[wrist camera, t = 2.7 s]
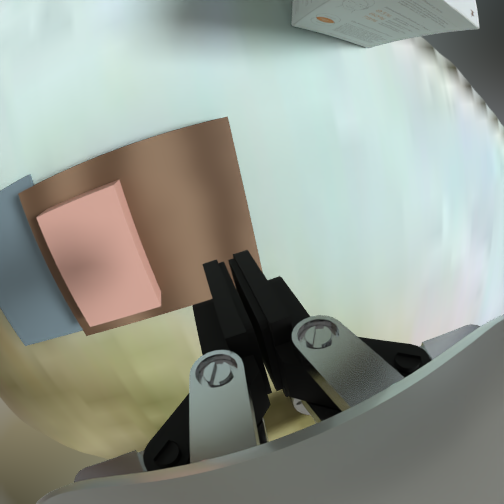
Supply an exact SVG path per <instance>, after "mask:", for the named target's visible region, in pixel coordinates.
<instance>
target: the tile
mask: <svg viewBox="0 0 504 504" xmlns="http://www.w3.org/2000/svg"><path fill="white" fill-rule="evenodd" d="M36 218H37V221H38V223H39V226H40V228H41V231H42V233H43V236H44V238H45V240H46V243H47V245H48V247H49V250H50V252H51V254H52V256H53V258H54V260H55V263H56V265H57V267H58V269H59V271H60V273H61V275H62V277H63V279H64V281H65V283H66V285H67V287H68V289H69V290H70V292H71V294H72V296H73V298H74V300H75V302H76V303H77V305H78V307H79V309H80V310H81V312H82V314H83V316H84V317H85V319H86V321H87V322H88V324H89V326H90V327H92V326H96V325H99V324H103V323H106V322H110V321H113V320H116V319H120V318H123V317H127V316H130V315H134V314H137V313H140V312H144V311H147V310H150V309H154V308H157V307H160V306H161V290H160V288H159V286H158V283H157V281H156V279H155V276H154V274H153V271H152V269H151V266H150V264H149V261H148V259H147V256H146V254H145V251H144V249H143V246H142V243H141V241H140V238H139V235H138V233H137V230H136V227H135V224H134V222H133V219H132V216H131V213H130V210H129V207H128V204H127V201H126V198H125V195H124V192H123V189H122V186H121V183H120V180H116V181H114V182H111V183H108V184H106V185H103V186H101V187H98V188H95V189H93V190H90V191H88V192H85V193H83V194H81V195H78V196H76V197H73V198H71V199H69V200H66V201H64V202H62V203H59V204H57V205H55V206H53V207H51V208H48V209H46V210H45V211H44V212H43V213H41V214H40V215H39V216H38V217H36Z"/></svg>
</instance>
